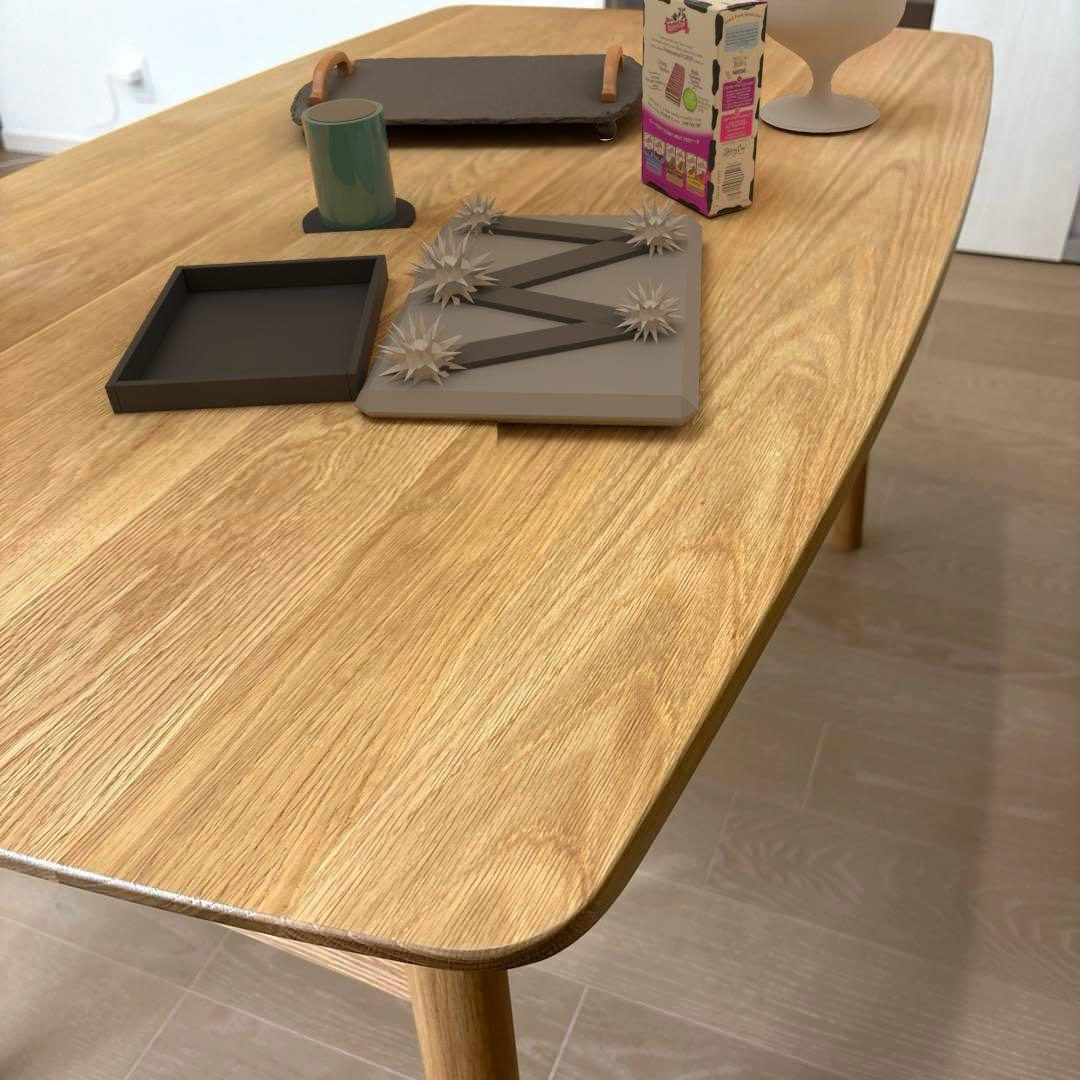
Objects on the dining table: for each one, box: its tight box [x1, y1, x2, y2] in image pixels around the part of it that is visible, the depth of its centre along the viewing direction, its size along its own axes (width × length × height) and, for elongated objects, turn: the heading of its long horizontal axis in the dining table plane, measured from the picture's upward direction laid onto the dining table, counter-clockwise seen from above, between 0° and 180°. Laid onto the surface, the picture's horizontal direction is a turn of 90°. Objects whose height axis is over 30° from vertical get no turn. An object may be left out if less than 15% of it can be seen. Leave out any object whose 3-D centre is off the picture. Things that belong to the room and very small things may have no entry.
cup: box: [301, 99, 398, 232], centre depth 92 cm, size 7×7×9 cm
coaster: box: [301, 196, 417, 235], centre depth 95 cm, size 10×10×1 cm
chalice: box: [759, 0, 907, 133], centre depth 105 cm, size 14×14×15 cm
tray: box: [104, 254, 389, 415], centre depth 76 cm, size 16×18×3 cm
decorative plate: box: [354, 189, 703, 427], centre depth 75 cm, size 30×22×7 cm
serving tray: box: [290, 44, 643, 142], centre depth 115 cm, size 39×23×6 cm, turn 82°
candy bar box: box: [640, 0, 768, 218], centre depth 90 cm, size 11×5×16 cm, turn 28°
